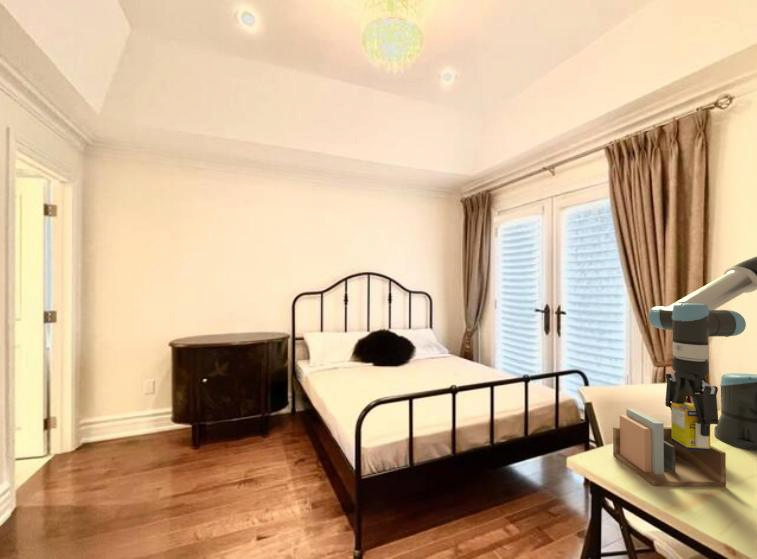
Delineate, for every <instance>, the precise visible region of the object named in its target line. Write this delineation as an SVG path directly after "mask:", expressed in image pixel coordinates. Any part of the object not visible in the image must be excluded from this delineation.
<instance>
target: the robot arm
mask: <svg viewBox="0 0 757 559" xmlns="http://www.w3.org/2000/svg"><path fill="white" fill-rule="evenodd" d="M756 290H757V256H753V257H752V258H748V259H746V260H743V261H741V262H739V263H737V264H735V265H733V266H730V268H728V269H726V270H725V271H724V273H723V275H722V276H720V277H718V278H716V279H714V280H713V281H711V282H709V283H708V284H705V285H704V286H702V287H700V288H699V289H697V290H695V291H693V292H691V293H689V294H688V295H686V296H684V297H682V298H681V299H679V300H677V301H675V302H673V303H671V304H670V305H667V306H664V305H661V306H659V305H658V306H654V307H652V308H651V309H650V310H649V312H648V316H647V317H648V321H649V324H650V325H651V326H652V327H653V328H656V329H660V330H664V331H672V356H673V357H672V362H671V364H672V370H673V371H674V373H666V374H665V379H666V389H665V390H666V391H665V403H664V404H665V406H666V407H667V408H669V409H670V410H671V403H680V404H685V403H686V400H687V397H688V395H689V396H690V397H691V399H692V402H693V403H692V404H694V406H695V410H696V414H697V417H698V421H696V446H697V447H708V436H710V437H711V425H716V426H714V437H715V438H717V440H720V441H721V442H724V443H726V444H729V445H732V446H734V447H738V448H741V449H746V450H749V451H754V452H757V374H754V373H739V372H738V373H736V372H735V373H734V372H731V373H725V374H724V373H723V375H722V376H721V378H720V379H721V380H720V385H719V386H720V416H719V411H718V399H717V397H718V396H717V395H718V391H719V387H718V386H716V385H711V384H709V383H708V381H707V379H706V376H707V375H708V374H709V372H710V371H709V370H710V368H709V365H710V363H709V362H708V360H709V358H710V357H709V356H710V354H709V352H710V351H709V349H710V347H709V339H710V338H709V337H714V338H715V337H716V338H717V337H725V338H728V337H735V336H738V335H741V334H742V333H743V332H744V331H745V329H746V328H747V322H746V319H745V318H744V316H742V314H741V313H739V312H737V311H735V310H729V309H718V308H720V307H722V306H723V305H726V303H728V302H731V301H732V300H735V299H736V298H737V297H739V296H741V295H742V294H744V293H745V294H749V293H753V292H754V291H756ZM704 418H705V419H704Z"/></svg>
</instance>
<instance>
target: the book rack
mask: <svg viewBox="0 0 757 559" xmlns="http://www.w3.org/2000/svg"><path fill="white" fill-rule="evenodd" d="M671 432H672V428H671V426H670V427H669V426H668V427H667V426H664V474H654V473H653V472H644V471H643V470H641V469H640V468H639V467H637V466H636V465H635V464H633V463H632V462H630V461H629V460H628V459H626V458H625V457H623V456H622V455H621V454H620V426H613V427H612V437H613V438H612V445H613V448H612V449H613V450H612V452H613V453H612V456H614V457H615V458H616V459H618V460H619V461H620V462H622V464H624V465H625V466H627V467H628V468H629V469H631V470H632V471H633V472H634V473H635V474H637V473H638V474H637V475H639V476H640V477H641V478H642V479H644V480H645V481H646V482H648V483H649V484H650V485H652V486H653V487H710V488H711V487H712V488H714V487H716V488H717V487H722V488H723V487H724V488H726V486H727V476H726V475H727V472H726V470H727V468H726V466H727V465H726V464H727V463H726V458H727V457H726V456H727V454H726V452H725V451H722V450H721V449H719V448H717V447H715V446H713V445H711V444H710V451H696V450H686V449H685V448H683V447H682V446H680V445H678V444H677V443H675V442H674V441H672V433H671Z"/></svg>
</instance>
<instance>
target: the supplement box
mask: <svg viewBox="0 0 757 559" xmlns="http://www.w3.org/2000/svg"><path fill="white" fill-rule="evenodd" d="M670 403H671V409H670V413H671V415H670V416H671V422H670V423H671V426H670V427H671V428H672V432H671V433H672V441H674V442H675V443H677V444H678V445H680V446H682V447H683V448H685V449H686V450H696V451H710V445H711V435H710V436H708V447H697V446H696V421H698V417H697V414H696V410H695V406H694V403H692V404H680V403H672V402H670ZM704 419H705V418H704Z"/></svg>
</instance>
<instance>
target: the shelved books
mask: <svg viewBox="0 0 757 559" xmlns="http://www.w3.org/2000/svg"><path fill="white" fill-rule="evenodd" d="M619 427H620V454H621V455H622V456H623V457H625V458H626V459H628V460H629V461H630V462H632V463H633V464H635V465H636V466H637V467H639V468H640V469H641V470H643V471H644V472H653V473H654V474H664V427H665V426H664V423H663V422H661V420H660V421H659V420H658V419H656V418H653V417H651V416H649V415H648V414H645V413H644V412H641V411H639V410H637V409H636V408H626V414H619Z"/></svg>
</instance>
